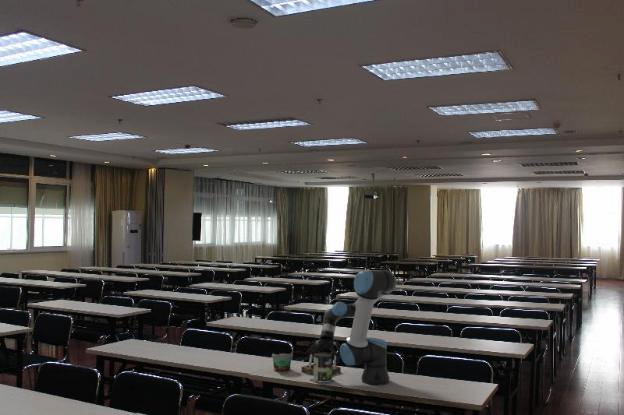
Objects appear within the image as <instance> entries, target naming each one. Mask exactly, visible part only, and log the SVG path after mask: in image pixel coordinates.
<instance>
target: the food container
mask: <svg viewBox="0 0 624 415" xmlns="http://www.w3.org/2000/svg"><path fill="white" fill-rule="evenodd" d="M271 357H272V362H273V370H274V371H275V372H278V373H286V372H290V371H291V363H292V358H293V352H290V353H279V354H276V353H272V354H271Z"/></svg>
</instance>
